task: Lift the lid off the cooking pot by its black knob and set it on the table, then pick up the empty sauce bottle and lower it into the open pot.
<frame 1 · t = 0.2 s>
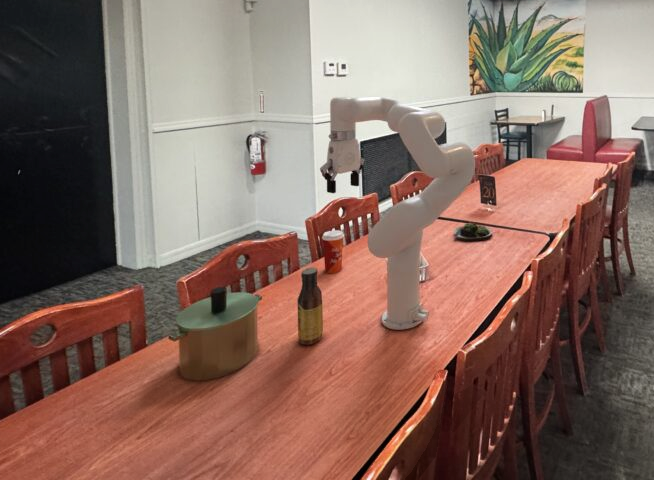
hand: (343, 189, 143), 37 cm above the table, tool pointing down, fingers open, 9 cm apart
sauce bottle: (310, 340, 124), on the table
paper cup: (333, 270, 167), on the table
cooking pot: (220, 358, 115), on the table
tin lid: (219, 311, 114), point 12 cm above the table, touching cooking pot
salad plate: (472, 235, 205), on the table
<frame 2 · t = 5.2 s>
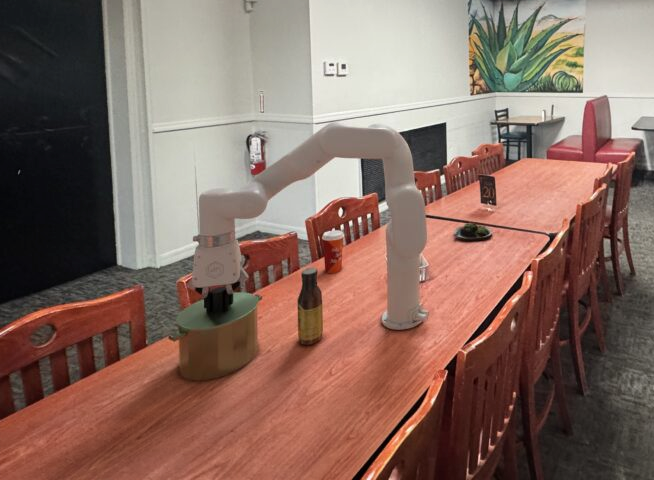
hand: (219, 308, 114), 13 cm above the table, tool pointing down, fingers closed on tin lid, 3 cm apart
tin lid: (219, 311, 114), point 13 cm above the table, touching gripper, cooking pot
everything else where it was.
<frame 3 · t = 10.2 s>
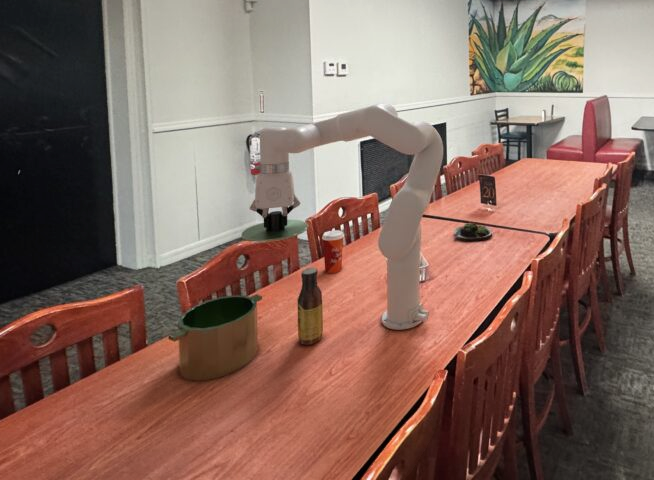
hand: (275, 228, 134), 27 cm above the table, tool pointing down, fingers closed on tin lid, 3 cm apart
tin lid: (275, 231, 134), point 26 cm above the table, touching gripper
everything else where it was.
when the fingers open (1 cm above the table, at t = 15.5 s): tin lid stays where it is, point 1 cm above the table.
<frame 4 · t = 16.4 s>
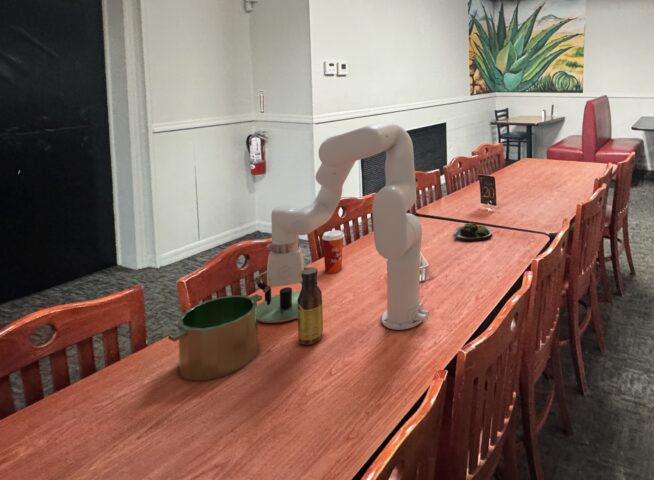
hand: (286, 300, 139), 3 cm above the table, tool pointing down, fingers open, 9 cm apart
tin lid: (286, 307, 139), point 1 cm above the table
everything else where it was.
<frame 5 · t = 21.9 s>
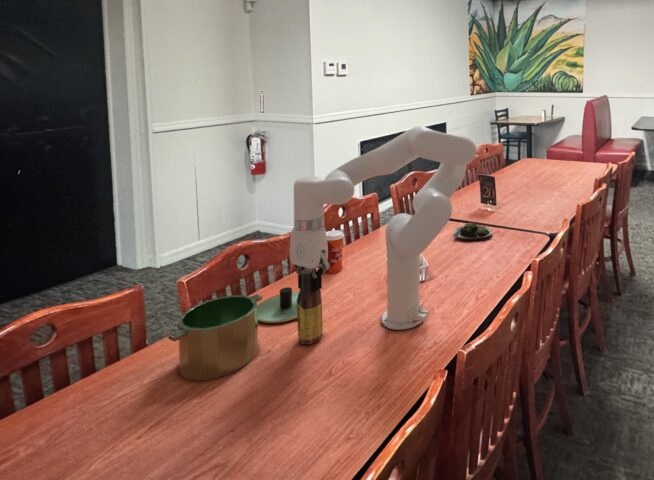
hand: (310, 287, 123), 15 cm above the table, tool pointing down, fingers closed on sauce bottle, 4 cm apart
sauce bottle: (310, 340, 124), on the table, touching gripper
everything else where it was.
when the fingers open (15 cm above the table, at t = 30.9 s): sauce bottle stays where it is, resting on cooking pot.
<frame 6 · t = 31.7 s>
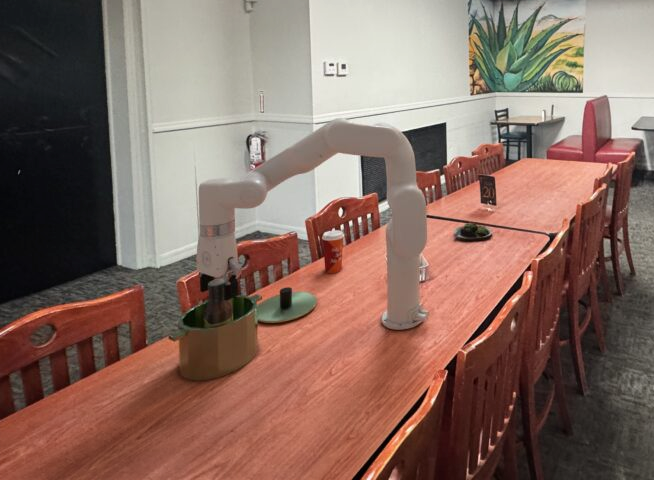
hand: (219, 293, 114), 17 cm above the table, tool pointing down, fingers open, 9 cm apart
sauce bottle: (219, 356, 115), resting on cooking pot
everything else where it was.
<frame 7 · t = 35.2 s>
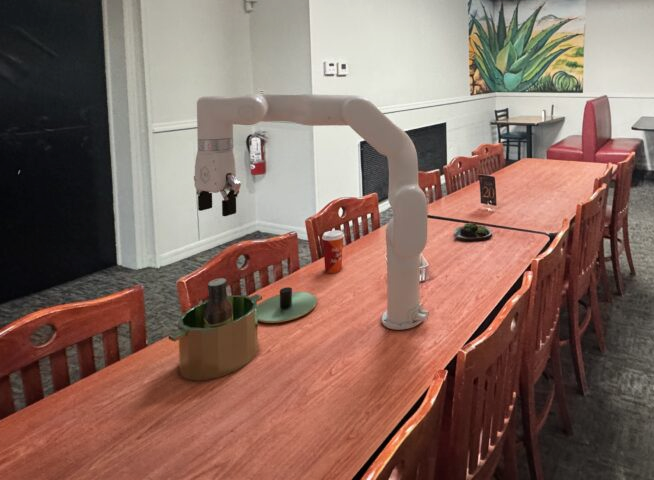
hand: (217, 212, 113), 38 cm above the table, tool pointing down, fingers open, 9 cm apart
nothing on the table moved.
at the end: tin lid inside the target area (0.2 cm from its centre), point 0.6 cm above the table; sauce bottle inside the target area in the cooking pot (0.4 cm from its centre), point 0.3 cm above the cooking pot's base; the gripper is holding nothing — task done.
